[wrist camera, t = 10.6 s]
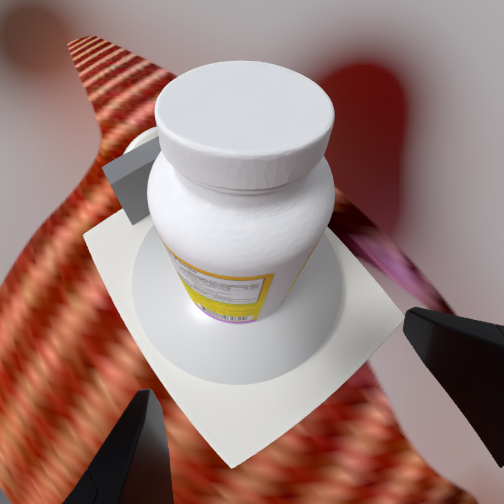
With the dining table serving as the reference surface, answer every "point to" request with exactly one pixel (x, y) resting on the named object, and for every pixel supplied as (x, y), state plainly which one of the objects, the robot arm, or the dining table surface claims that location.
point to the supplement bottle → (241, 183)
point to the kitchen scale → (236, 336)
